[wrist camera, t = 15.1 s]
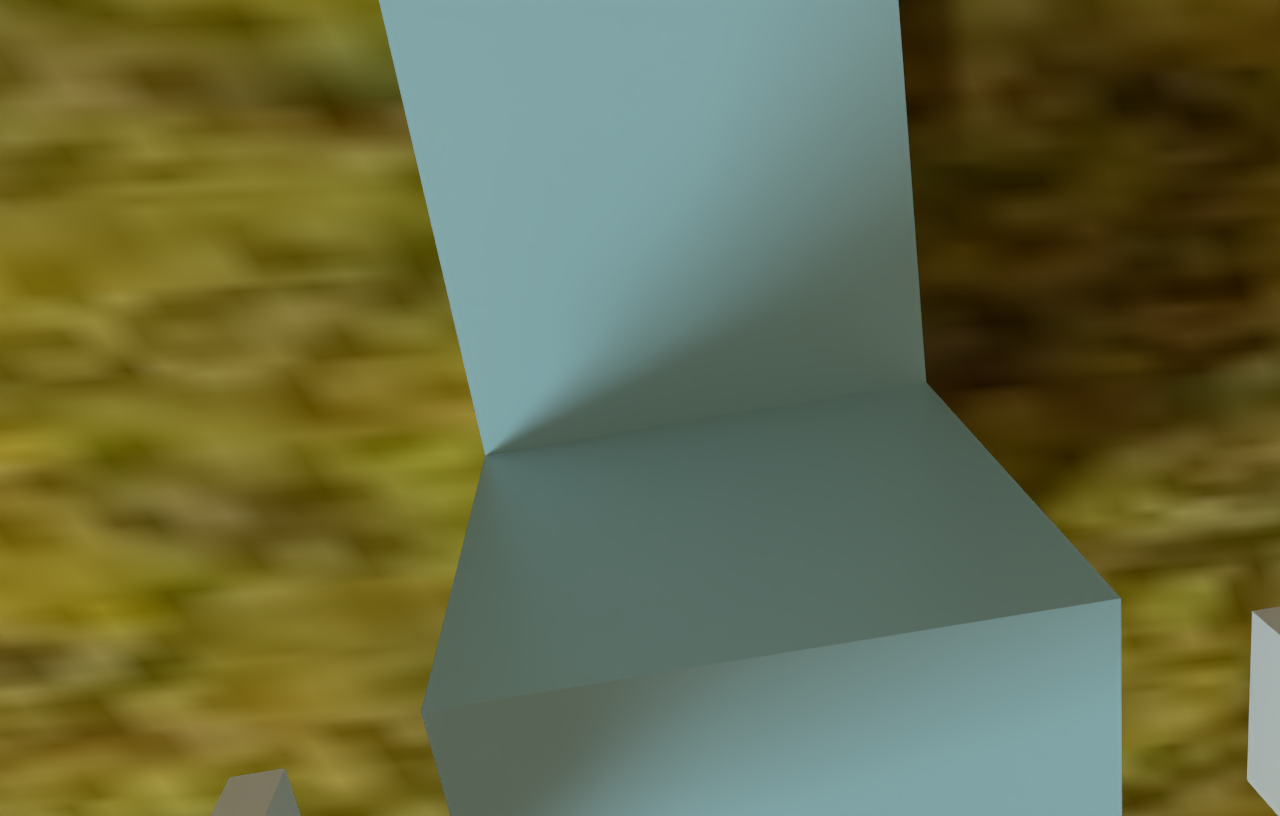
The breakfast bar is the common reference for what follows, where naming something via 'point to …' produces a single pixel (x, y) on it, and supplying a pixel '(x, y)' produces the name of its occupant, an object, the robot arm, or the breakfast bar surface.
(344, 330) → the breakfast bar surface
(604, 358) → the light blue l-bracket
